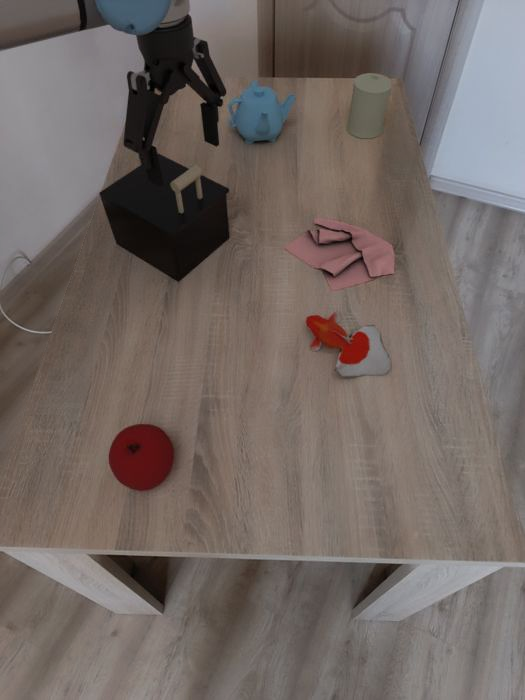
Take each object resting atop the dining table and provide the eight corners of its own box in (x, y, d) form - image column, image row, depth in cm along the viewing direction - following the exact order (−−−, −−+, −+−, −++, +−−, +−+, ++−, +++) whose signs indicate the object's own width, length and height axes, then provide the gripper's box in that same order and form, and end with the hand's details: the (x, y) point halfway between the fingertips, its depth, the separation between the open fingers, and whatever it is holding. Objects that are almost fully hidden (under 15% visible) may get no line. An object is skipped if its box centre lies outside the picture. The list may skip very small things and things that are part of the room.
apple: (185, 485, 70) (175, 460, 61) (124, 507, 68) (105, 484, 60) (170, 431, 74) (158, 400, 66) (112, 450, 73) (93, 421, 64)
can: (384, 121, 124) (395, 73, 114) (379, 141, 119) (390, 92, 109) (349, 116, 125) (357, 68, 115) (343, 135, 120) (350, 87, 110)
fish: (339, 291, 85) (351, 281, 75) (394, 360, 84) (413, 359, 74) (292, 329, 84) (297, 323, 74) (347, 398, 84) (360, 402, 74)
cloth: (408, 278, 93) (412, 270, 91) (300, 296, 90) (301, 287, 88) (373, 211, 104) (375, 202, 102) (276, 225, 101) (276, 216, 99)
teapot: (300, 132, 121) (303, 87, 112) (265, 157, 115) (265, 111, 106) (254, 112, 127) (253, 67, 117) (219, 134, 121) (215, 89, 111)
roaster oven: (229, 238, 99) (226, 190, 89) (178, 282, 92) (168, 236, 82) (168, 204, 105) (158, 156, 95) (116, 243, 98) (100, 196, 88)
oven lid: (229, 192, 89) (226, 157, 83) (171, 237, 82) (164, 203, 76) (158, 156, 95) (151, 121, 89) (99, 196, 88) (87, 161, 82)
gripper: (109, 62, 54) (147, 210, 72) (245, -9, 65) (249, 135, 83) (66, 43, 57) (113, 191, 74) (204, -22, 68) (216, 121, 86)
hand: (185, 162), depth 79 cm, fingers open, 13 cm apart
